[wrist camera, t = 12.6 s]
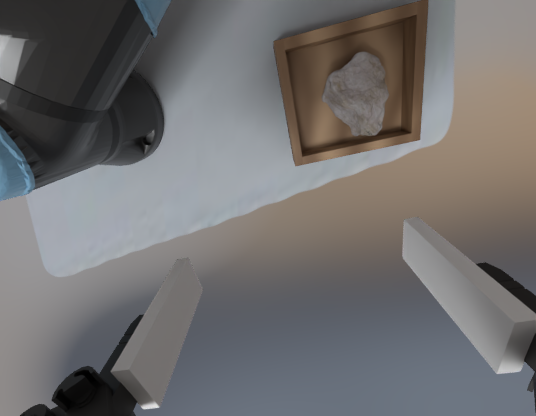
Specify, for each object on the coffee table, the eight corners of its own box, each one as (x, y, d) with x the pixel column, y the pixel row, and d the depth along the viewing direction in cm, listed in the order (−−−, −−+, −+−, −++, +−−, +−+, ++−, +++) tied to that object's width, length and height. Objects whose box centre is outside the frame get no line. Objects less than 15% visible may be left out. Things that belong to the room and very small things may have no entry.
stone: (393, 110, 34) (415, 113, 29) (344, 143, 36) (356, 150, 31) (365, 45, 30) (384, 34, 25) (312, 85, 33) (320, 82, 27)
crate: (293, 159, 38) (295, 166, 35) (273, 47, 32) (273, 41, 28) (405, 135, 36) (420, 139, 33) (409, 10, 30) (428, -2, 26)
